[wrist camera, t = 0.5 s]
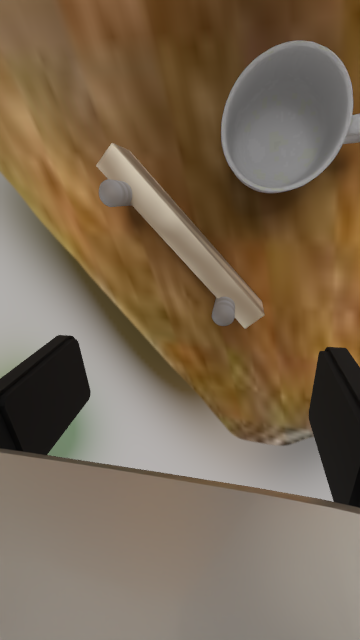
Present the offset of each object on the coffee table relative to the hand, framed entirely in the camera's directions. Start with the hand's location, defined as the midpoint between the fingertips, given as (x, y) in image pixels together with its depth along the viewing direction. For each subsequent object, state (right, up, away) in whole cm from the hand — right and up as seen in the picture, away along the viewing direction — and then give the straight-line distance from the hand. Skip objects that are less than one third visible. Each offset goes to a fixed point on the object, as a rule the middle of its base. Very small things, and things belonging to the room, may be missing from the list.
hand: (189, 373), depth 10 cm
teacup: (+12, +22, +20) cm, 32 cm away
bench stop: (+1, +13, +26) cm, 29 cm away
